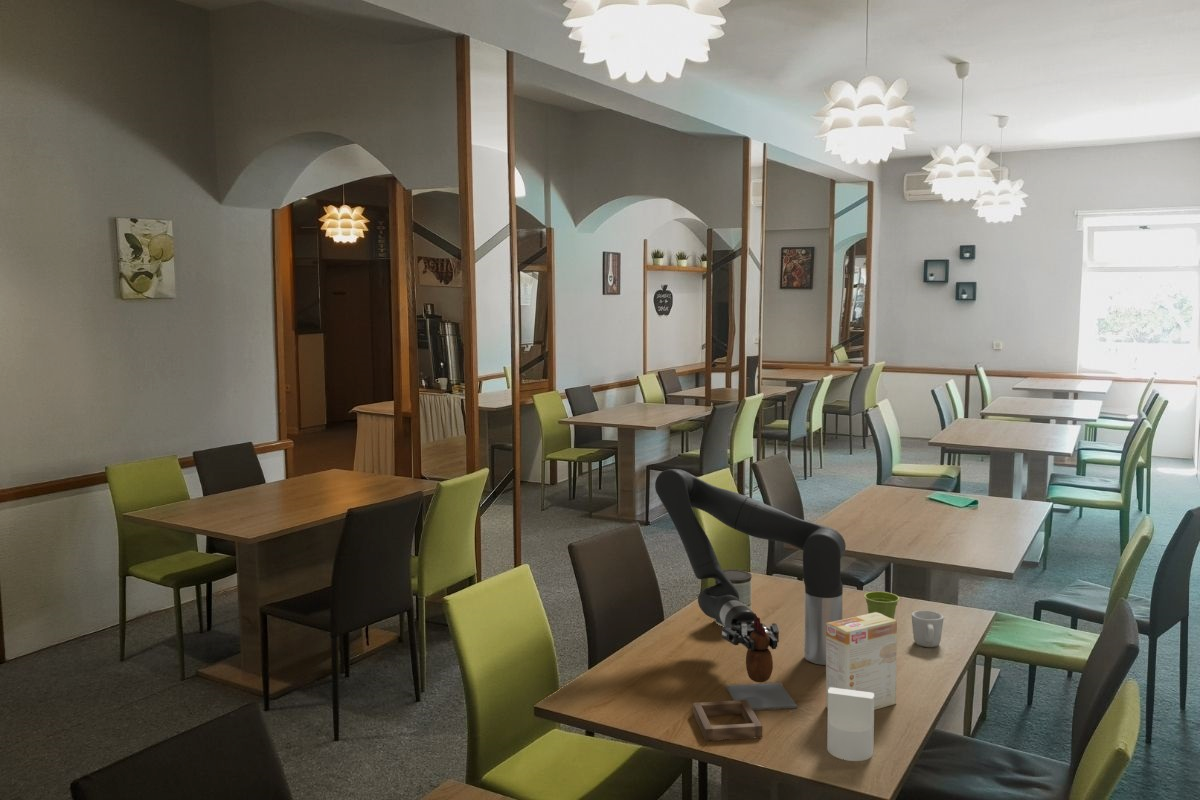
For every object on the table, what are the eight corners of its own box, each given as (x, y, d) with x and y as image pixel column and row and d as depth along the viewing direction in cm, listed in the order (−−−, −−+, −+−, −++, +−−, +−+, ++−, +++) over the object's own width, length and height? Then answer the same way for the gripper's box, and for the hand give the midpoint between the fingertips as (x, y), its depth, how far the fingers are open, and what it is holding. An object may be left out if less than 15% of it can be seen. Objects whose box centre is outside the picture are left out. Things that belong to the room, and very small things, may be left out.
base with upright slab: (824, 756, 182) (825, 698, 181) (830, 737, 191) (830, 681, 190) (871, 764, 179) (872, 704, 178) (875, 743, 187) (875, 687, 186)
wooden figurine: (742, 673, 214) (743, 611, 212) (767, 672, 214) (768, 610, 212) (750, 686, 207) (751, 621, 205) (775, 685, 207) (776, 620, 206)
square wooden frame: (746, 710, 204) (746, 699, 203) (762, 737, 191) (762, 726, 191) (693, 713, 203) (693, 702, 202) (705, 740, 190) (705, 729, 189)
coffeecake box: (874, 693, 212) (875, 611, 210) (897, 704, 206) (898, 620, 204) (824, 706, 205) (824, 621, 204) (846, 718, 199) (847, 631, 197)
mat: (780, 684, 218) (780, 682, 218) (797, 708, 205) (797, 705, 205) (726, 687, 216) (726, 685, 216) (739, 711, 204) (739, 709, 203)
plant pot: (902, 624, 258) (903, 594, 257) (893, 634, 250) (894, 603, 249) (869, 619, 263) (869, 589, 262) (859, 628, 255) (859, 598, 254)
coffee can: (708, 624, 261) (708, 575, 259) (725, 614, 269) (725, 567, 268) (741, 631, 255) (741, 581, 253) (757, 620, 263) (757, 572, 262)
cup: (947, 654, 235) (947, 624, 234) (914, 652, 237) (915, 622, 236) (940, 639, 246) (940, 610, 245) (909, 638, 247) (909, 609, 247)
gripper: (711, 606, 222) (733, 631, 205) (767, 603, 224) (794, 627, 208) (710, 636, 223) (733, 664, 206) (766, 632, 225) (793, 659, 208)
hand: (763, 645), depth 207 cm, fingers closed on wooden figurine, 4 cm apart
